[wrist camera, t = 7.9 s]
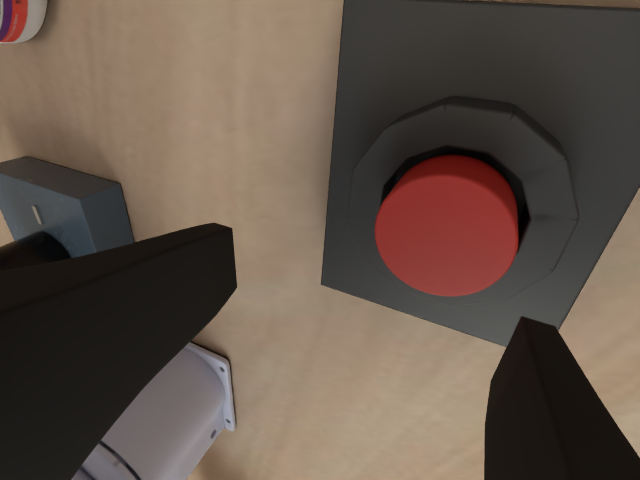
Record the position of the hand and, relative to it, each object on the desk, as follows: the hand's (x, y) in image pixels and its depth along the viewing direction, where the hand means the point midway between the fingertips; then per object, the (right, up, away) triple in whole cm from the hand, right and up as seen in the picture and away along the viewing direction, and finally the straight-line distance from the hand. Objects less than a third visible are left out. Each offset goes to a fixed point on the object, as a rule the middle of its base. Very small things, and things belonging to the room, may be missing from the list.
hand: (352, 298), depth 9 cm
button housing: (+5, +4, +6) cm, 9 cm away
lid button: (+4, +2, +3) cm, 5 cm away
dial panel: (-19, +1, +20) cm, 28 cm away
